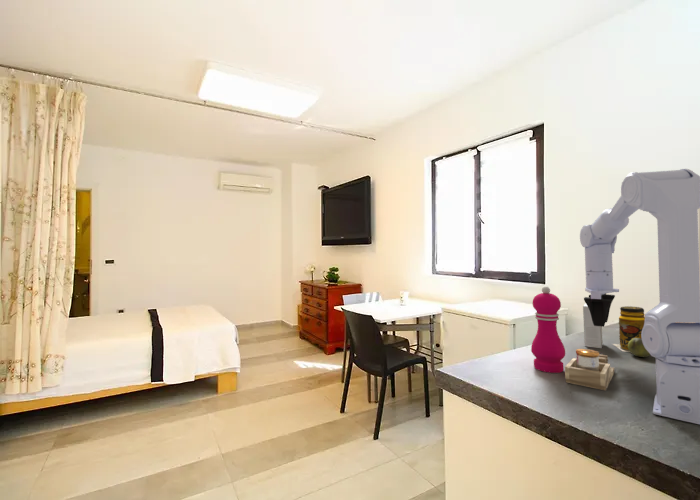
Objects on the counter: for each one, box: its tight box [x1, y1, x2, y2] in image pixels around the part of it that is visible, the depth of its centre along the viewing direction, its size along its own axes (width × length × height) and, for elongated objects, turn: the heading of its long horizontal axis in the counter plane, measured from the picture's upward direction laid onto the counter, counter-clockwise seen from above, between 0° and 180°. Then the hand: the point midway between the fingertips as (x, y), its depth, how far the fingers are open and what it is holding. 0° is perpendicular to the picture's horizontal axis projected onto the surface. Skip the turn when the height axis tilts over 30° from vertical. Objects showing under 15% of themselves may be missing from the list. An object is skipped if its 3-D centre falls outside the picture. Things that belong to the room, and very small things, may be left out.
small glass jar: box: [575, 348, 600, 371], centre depth 75 cm, size 4×4×6 cm
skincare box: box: [582, 303, 604, 349], centre depth 103 cm, size 6×4×12 cm
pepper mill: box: [530, 286, 566, 374], centre depth 84 cm, size 7×7×20 cm
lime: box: [628, 338, 651, 358], centre depth 91 cm, size 4×5×5 cm
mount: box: [564, 354, 616, 391], centre depth 77 cm, size 14×7×4 cm, turn 136°
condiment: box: [612, 305, 645, 353], centre depth 98 cm, size 7×8×12 cm
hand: (600, 323), depth 89 cm, fingers open, 6 cm apart
